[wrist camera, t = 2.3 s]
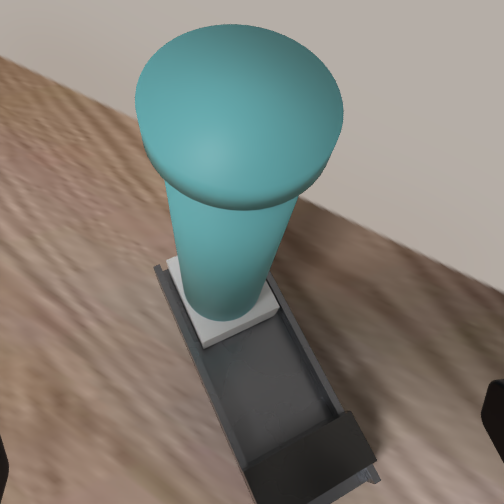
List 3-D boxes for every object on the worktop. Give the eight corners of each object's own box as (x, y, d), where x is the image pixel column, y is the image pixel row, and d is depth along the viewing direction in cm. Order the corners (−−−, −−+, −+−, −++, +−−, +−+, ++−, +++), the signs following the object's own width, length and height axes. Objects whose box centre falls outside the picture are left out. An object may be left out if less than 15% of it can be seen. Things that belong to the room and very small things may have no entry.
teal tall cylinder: (277, 314, 20) (382, 146, 8) (199, 351, 19) (186, 221, 7) (240, 242, 21) (284, 6, 9) (165, 273, 20) (105, 53, 8)
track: (364, 475, 19) (389, 482, 16) (268, 534, 17) (278, 553, 15) (244, 245, 22) (248, 221, 20) (158, 280, 21) (151, 260, 18)
